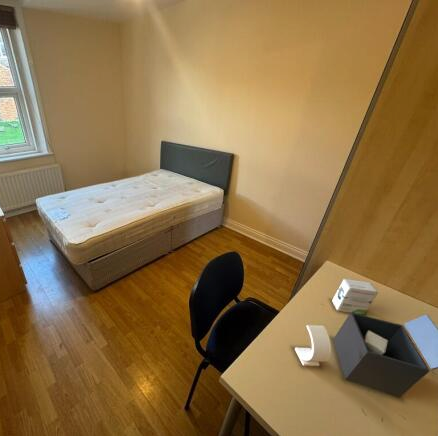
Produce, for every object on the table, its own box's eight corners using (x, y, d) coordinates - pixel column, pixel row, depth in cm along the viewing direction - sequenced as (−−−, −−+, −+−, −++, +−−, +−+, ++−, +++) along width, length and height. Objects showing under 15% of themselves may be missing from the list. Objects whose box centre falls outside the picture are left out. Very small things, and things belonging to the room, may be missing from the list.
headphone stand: (309, 349, 73) (323, 325, 67) (320, 369, 68) (337, 345, 62) (294, 348, 73) (307, 325, 67) (304, 369, 68) (319, 345, 62)
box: (352, 351, 72) (368, 329, 66) (370, 362, 69) (388, 339, 63) (347, 362, 69) (364, 340, 63) (366, 374, 66) (385, 352, 60)
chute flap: (403, 323, 65) (404, 324, 65) (431, 368, 54) (432, 369, 54) (426, 314, 61) (428, 315, 61) (460, 360, 51) (462, 361, 51)
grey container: (379, 352, 72) (402, 325, 65) (399, 398, 61) (430, 371, 55) (333, 339, 76) (350, 311, 69) (345, 379, 65) (367, 352, 59)
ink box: (357, 304, 87) (371, 282, 81) (364, 315, 83) (380, 292, 77) (331, 300, 89) (343, 277, 84) (336, 310, 85) (350, 287, 79)
